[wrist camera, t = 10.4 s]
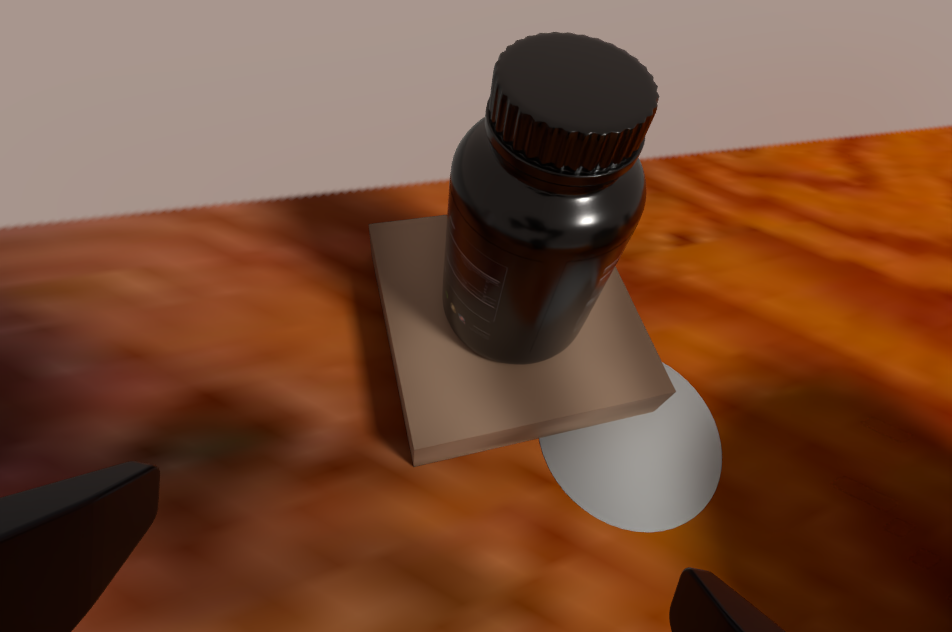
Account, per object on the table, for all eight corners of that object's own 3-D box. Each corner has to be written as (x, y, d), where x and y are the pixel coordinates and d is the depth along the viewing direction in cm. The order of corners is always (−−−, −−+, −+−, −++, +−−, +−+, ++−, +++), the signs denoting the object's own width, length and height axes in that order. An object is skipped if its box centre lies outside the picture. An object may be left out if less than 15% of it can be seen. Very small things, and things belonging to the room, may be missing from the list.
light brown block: (570, 228, 31) (582, 198, 29) (653, 411, 25) (676, 391, 23) (371, 254, 28) (368, 224, 26) (413, 467, 23) (414, 449, 20)
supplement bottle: (529, 232, 27) (601, -6, 17) (608, 332, 24) (751, 119, 14) (413, 280, 25) (416, 35, 15) (486, 396, 22) (555, 194, 12)
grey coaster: (741, 421, 26) (747, 417, 26) (670, 579, 22) (676, 578, 21) (590, 324, 28) (594, 318, 28) (499, 451, 24) (501, 447, 23)
